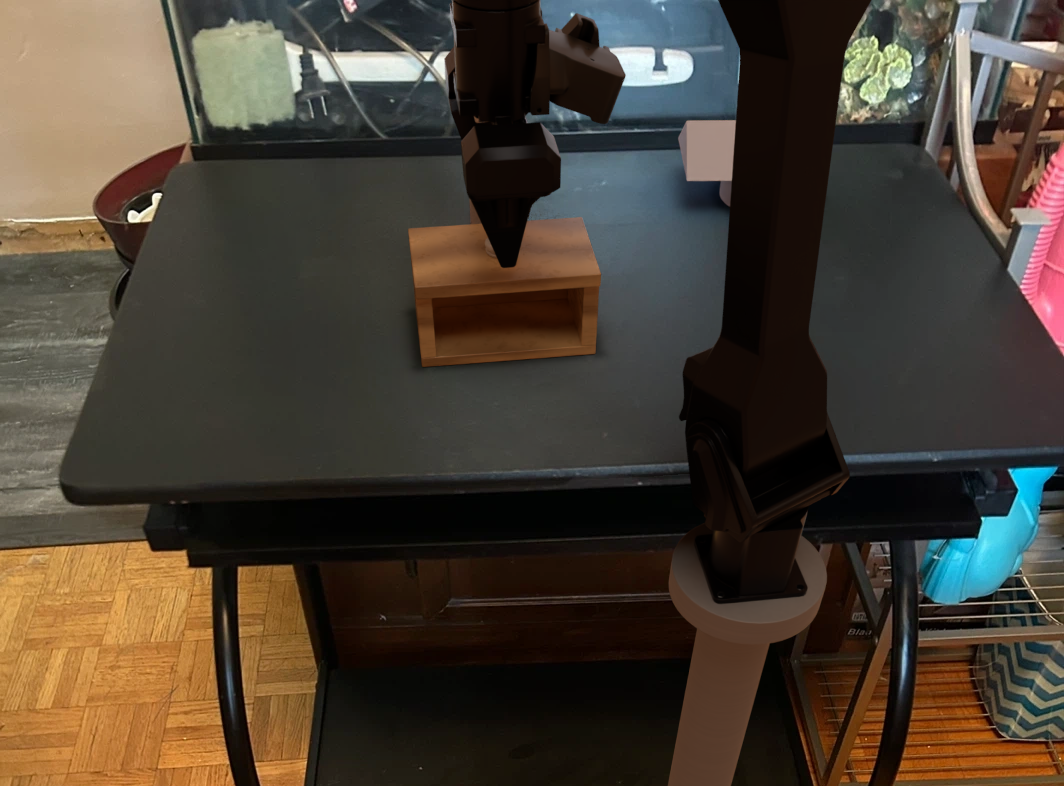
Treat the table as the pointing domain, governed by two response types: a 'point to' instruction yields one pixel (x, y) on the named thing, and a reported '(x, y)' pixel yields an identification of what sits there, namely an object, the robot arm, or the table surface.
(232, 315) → the table surface
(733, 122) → the wedge on round base
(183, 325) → the table surface
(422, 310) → the shelf
